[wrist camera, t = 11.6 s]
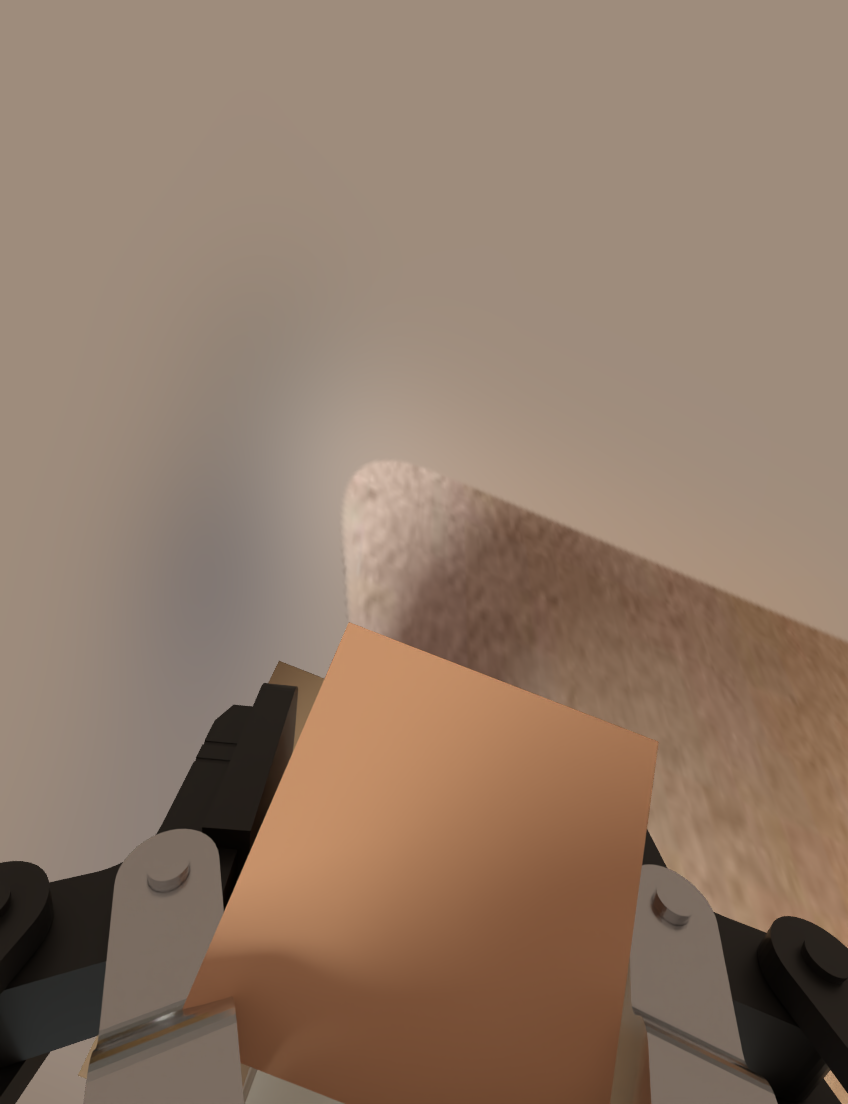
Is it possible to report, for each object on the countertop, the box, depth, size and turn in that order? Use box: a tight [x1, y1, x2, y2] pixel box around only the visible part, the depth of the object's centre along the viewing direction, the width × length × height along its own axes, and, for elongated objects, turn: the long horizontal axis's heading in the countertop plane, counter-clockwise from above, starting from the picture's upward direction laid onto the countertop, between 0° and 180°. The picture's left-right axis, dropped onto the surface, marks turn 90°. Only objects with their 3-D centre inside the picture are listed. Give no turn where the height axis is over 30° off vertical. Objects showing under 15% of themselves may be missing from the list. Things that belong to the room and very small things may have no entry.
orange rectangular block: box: [182, 622, 658, 1104], centre depth 10 cm, size 5×5×9 cm
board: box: [78, 661, 344, 1104], centre depth 12 cm, size 10×11×7 cm
